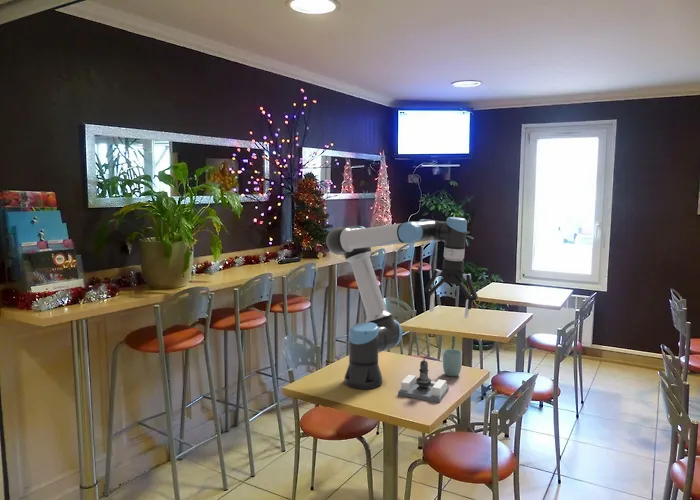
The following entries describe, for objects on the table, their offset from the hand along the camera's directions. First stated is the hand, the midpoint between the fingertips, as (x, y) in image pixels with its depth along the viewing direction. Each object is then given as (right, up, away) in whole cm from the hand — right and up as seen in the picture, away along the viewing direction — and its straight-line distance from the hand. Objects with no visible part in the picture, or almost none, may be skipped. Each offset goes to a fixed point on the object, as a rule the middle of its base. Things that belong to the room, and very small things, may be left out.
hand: (448, 314), depth 200 cm
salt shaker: (-9, -29, +1) cm, 30 cm away
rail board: (-9, -30, +1) cm, 32 cm away
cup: (+5, -28, +21) cm, 35 cm away
